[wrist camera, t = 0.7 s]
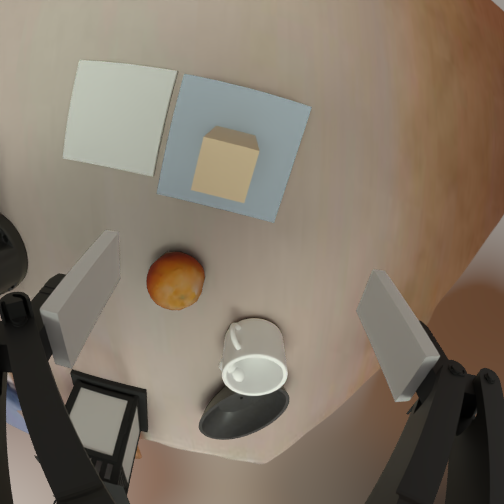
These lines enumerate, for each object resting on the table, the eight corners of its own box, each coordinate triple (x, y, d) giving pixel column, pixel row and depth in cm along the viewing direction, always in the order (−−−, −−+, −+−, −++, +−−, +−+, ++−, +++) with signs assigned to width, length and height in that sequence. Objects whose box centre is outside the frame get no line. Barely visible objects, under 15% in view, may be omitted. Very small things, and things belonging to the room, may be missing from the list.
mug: (202, 319, 51) (196, 359, 43) (259, 294, 49) (262, 334, 40) (239, 364, 56) (238, 403, 47) (291, 344, 54) (298, 383, 45)
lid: (158, 191, 34) (125, 231, 24) (186, 74, 28) (157, 63, 18) (273, 219, 36) (283, 269, 26) (309, 106, 30) (339, 111, 20)
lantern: (146, 389, 59) (112, 544, 28) (148, 428, 67) (125, 554, 36) (72, 369, 57) (16, 506, 26) (84, 411, 65) (47, 527, 34)
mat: (64, 157, 38) (62, 158, 37) (81, 60, 32) (79, 59, 31) (153, 175, 40) (152, 176, 39) (178, 71, 34) (177, 70, 33)
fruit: (151, 233, 42) (167, 272, 37) (198, 242, 47) (220, 279, 42) (132, 277, 45) (145, 317, 40) (177, 282, 50) (195, 319, 45)
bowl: (187, 403, 61) (183, 426, 56) (253, 348, 54) (254, 375, 48) (232, 423, 65) (232, 445, 60) (302, 375, 58) (306, 400, 52)
